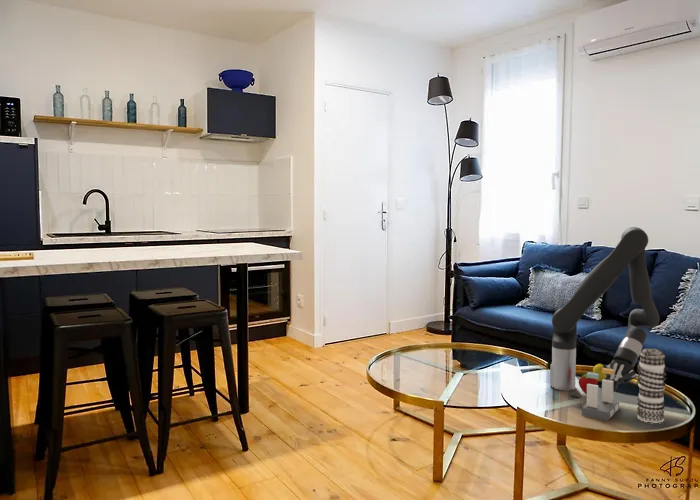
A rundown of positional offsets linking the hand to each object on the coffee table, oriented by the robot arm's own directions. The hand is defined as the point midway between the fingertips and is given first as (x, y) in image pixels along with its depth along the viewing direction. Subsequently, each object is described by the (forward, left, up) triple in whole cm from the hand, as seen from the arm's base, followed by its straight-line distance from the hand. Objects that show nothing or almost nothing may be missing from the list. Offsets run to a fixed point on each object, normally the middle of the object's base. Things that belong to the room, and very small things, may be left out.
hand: (610, 390), depth 211 cm
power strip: (-2, -2, -7) cm, 8 cm away
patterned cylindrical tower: (+14, -1, -8) cm, 16 cm away
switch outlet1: (-4, -10, -4) cm, 11 cm away
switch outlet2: (-1, -1, -4) cm, 5 cm away
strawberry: (-11, +11, -8) cm, 17 cm away
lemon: (-12, +31, -8) cm, 34 cm away
